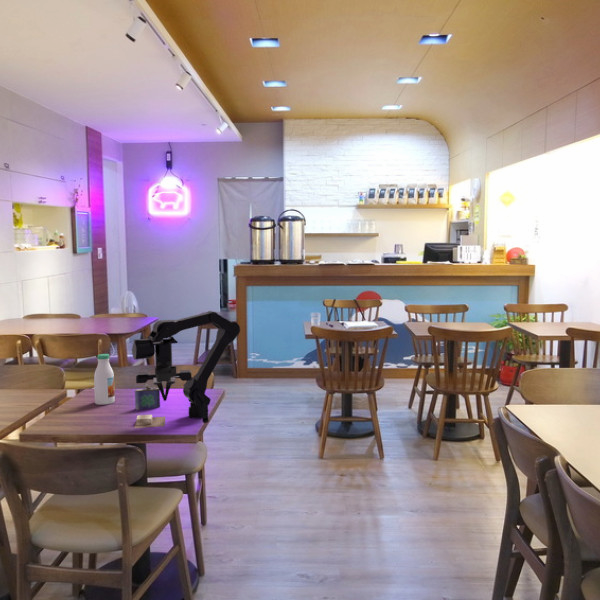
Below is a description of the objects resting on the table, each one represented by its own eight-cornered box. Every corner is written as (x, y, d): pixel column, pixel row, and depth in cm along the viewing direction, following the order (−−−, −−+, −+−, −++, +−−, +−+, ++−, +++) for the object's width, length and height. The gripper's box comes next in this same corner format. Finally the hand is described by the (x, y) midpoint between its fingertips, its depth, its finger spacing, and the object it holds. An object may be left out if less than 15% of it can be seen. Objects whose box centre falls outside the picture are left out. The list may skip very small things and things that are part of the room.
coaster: (152, 420, 199) (152, 414, 199) (151, 424, 194) (151, 418, 194) (137, 421, 198) (137, 415, 198) (136, 425, 193) (136, 419, 193)
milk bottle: (102, 406, 224) (100, 356, 222) (91, 403, 228) (89, 354, 227) (118, 402, 230) (117, 354, 228) (107, 399, 235) (106, 352, 233)
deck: (165, 420, 203) (165, 416, 203) (164, 430, 191) (164, 426, 191) (137, 422, 201) (136, 418, 201) (134, 432, 189) (134, 428, 189)
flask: (135, 413, 213) (134, 386, 212) (135, 411, 215) (134, 384, 215) (160, 411, 216) (159, 384, 215) (159, 409, 218) (159, 382, 218)
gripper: (134, 362, 186) (135, 408, 187) (191, 359, 190) (192, 404, 191) (136, 356, 197) (138, 400, 198) (190, 353, 201) (191, 396, 202)
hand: (165, 400), depth 197 cm, fingers closed
